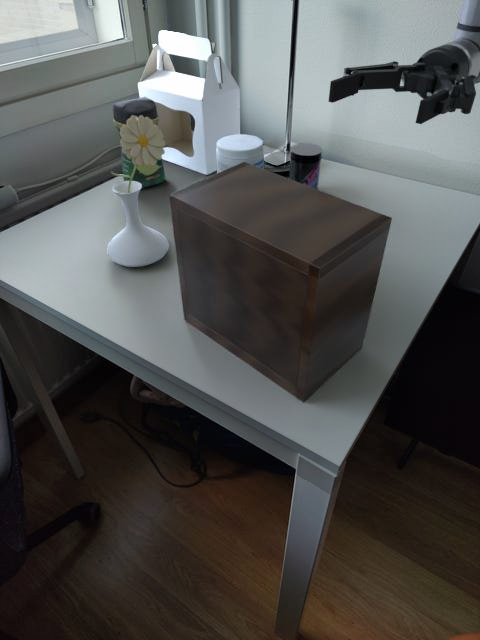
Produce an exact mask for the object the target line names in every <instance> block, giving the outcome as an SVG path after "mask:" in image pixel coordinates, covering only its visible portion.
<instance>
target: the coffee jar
mask: <svg viewBox="0 0 480 640" xmlns="http://www.w3.org/2000/svg"><path fill="white" fill-rule="evenodd" d="M156 109H157V108H156V105H155V102H154V101H153V100H151V99H149V98H147V97H142V98H140V97H138V98H132V99H128V100H124V101H117V102H114V103H112V120H113V121H112V122H113V124H114V126H115V127H116V129H117V132H118V136H119V143H120V154H121V170H122V174H123V175H128V176H130V177H131V175H132V172H133V169H134V166H135V164H133V163H132V159H129V158H128V157H127V154H124V153H123V151H122V149H123V148H122V144H121V142H120V140H121V139H122V137H121V136H120V132H121V131H120V128H121V127H122V125H123V124H125V125H127V123H126V122H127V120H128V119H129V118H131V116H132V115H134V116H137V117H138V118H139V116H140V115H142V116H143V117H144V118H145V117H148V118H149V119H151V120H152V121H153V124H155V125H157V124H158V113H157V110H156ZM156 164H157V165H158V166H159V169H158V170H157V171H155V172H154V173H152V174H150V175H144V174H143V173H141V172H140V171H139V170H138V169H137V168H136V170H135V173H134V176H133V179H132V181H136V182H139V183H141V185H142V188H141V189H145V188H148V187H152V186H156V185H158V184H161V183H163V182H164V181H165V180H166V172H165V165H164V161H163V159H162V158H161V159H160V160H158V159H157V163H156ZM137 165H138V164H137ZM122 178H123V181H130V178H127V177H122Z"/></svg>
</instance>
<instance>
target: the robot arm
mask: <svg viewBox="0 0 480 640" xmlns="http://www.w3.org/2000/svg"><path fill="white" fill-rule="evenodd" d="M454 31H455V32H454V35H453V39H452V41H449V42H446V43H444V44H442V45H439V46H436V47H434V48H433V47H432V48H431V49H429V50H427V51H426V52H424V53H423V54H422V55H421V56H420V57H419V59H418V60H417V61H416V62H414V63H412V64H401V65H400V64H399V62H398V61H396V60H393V61H391V62H385V63H380V64H371V65H360V66H352V67H349V66H348V67H345V68H343V74H342V76H341V77H338V78H336V79H332V80H331V81H330V82H329V83H330V85H329V95H328V103H332V104H333V103H336V102H338V101H341V100H343V99H347V98H349V97H351V96H355V95H356V94H359V91H368V90H370V91H371V90H372V91H373V90H390V89H391V90H393V91H394V92H395V93H405V92H407V93H408V92H410V93H411V94H417V95H418V96H419V97H420V98H421V99H420V101H419V106H418V110H417V115H416V119H415V124H418V125H423V124H424V123H426V122H428V121H429V120H432V119H434V118H435V117H437V116H439V115H445V114H446V113H455V112H456V111H457V110H460V113H462V114H463V115H469V114H471V112H472V109H473V106H474V103H475V100H476V96H477V91H476V87H475V85H476V84H479V83H480V0H462V5H461V9H460V12H459V17H458V21H457V25H456V28H455V30H454ZM401 83H402V85H401Z"/></svg>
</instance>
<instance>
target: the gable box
mask: <svg viewBox="0 0 480 640" xmlns="http://www.w3.org/2000/svg"><path fill="white" fill-rule="evenodd" d="M216 45H217V44H216V42H212V39H211V38H209V37H205V36H198V35H192V34H186V33H181V32H174V31H168V30H160V31H159V32H158V43H157V44H156V43H155V44H154V43H153V44H152V49H151V52H150V54H149V56H148V59H147V61H146V63H145V65H144V68H143V70H142V73H141V75H140V77H139V80H138V82H137V88H138V95H139V98H142V97H147V98H149V99H151V100H153V101H154V102H155V105H156V108H157V109H156V110H157V113H158V124H157V126H158V128H159V130H161V132H162V134H163V136H164V138H163V139H162V140H164V141H165V146H163V148H164V151H165V153H164V154H163V155H162V156H161V157H162V161H163V160H164V161H167V162H169V163H171V164H174V165H177V166H181V167H183V168H186V169H189V170H192V171H194V172H197V173H200V174H203V175H205V176H207V175H210V174H212V173H214V172H217V155H216V149H217V141H218V140H219V139H221V138H223V137H226V136H230V135H237V134H241V89H240V88H241V87H240V85H239V84H238V83H237V81H236V80H235V78H234V77H233V75H232V73H231V72H230V70H229V68H228V66H227V65H226V64H225V61H223V58H222V57H221V56H220V54H218V53H215V50H216ZM170 55H173V56H178V57H183V58H189V59H192V60H193V59H194V60H199V61H204V62H205V63H206V66H205V75H204V78H203V77H199V76H195V75H190V74H186V73H181V72H176V69H175V67H174V64H173V62H172V59H171V57H170ZM191 116H192V117H193V119H194V129H192V125H191Z"/></svg>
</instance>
